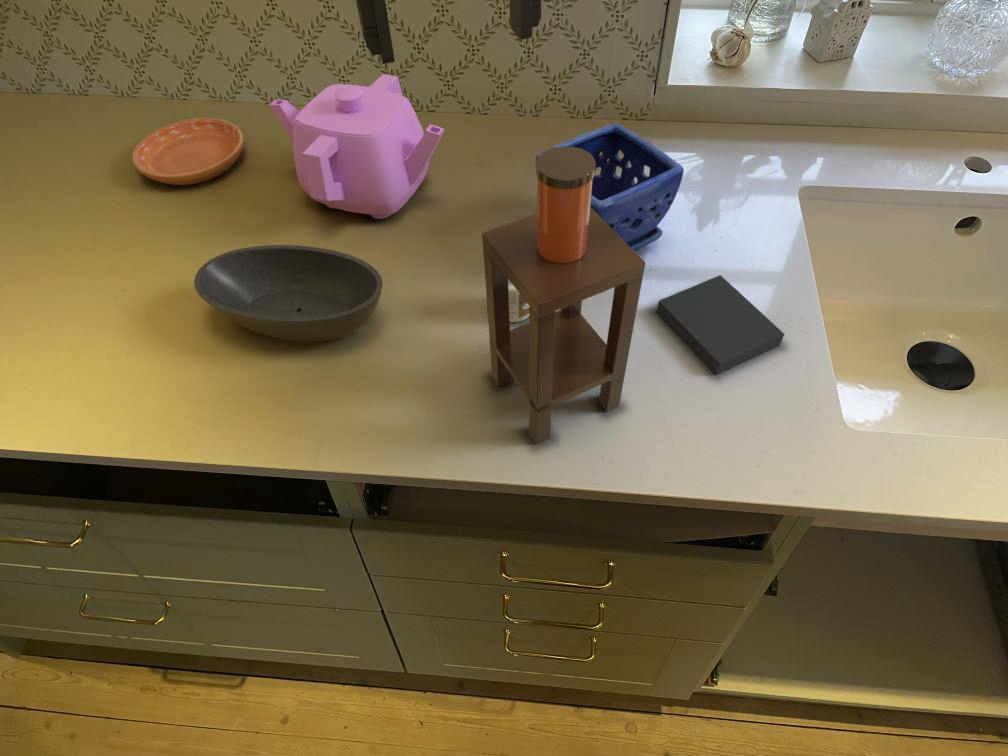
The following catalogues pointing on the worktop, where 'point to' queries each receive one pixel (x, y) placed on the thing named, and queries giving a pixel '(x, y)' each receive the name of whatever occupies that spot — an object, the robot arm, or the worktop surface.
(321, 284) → the bowl
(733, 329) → the pad
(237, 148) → the saucer
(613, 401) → the stand
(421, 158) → the teapot
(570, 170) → the spice jar
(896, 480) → the worktop surface
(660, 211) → the flower pot
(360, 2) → the robot arm
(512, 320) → the pill bottle
